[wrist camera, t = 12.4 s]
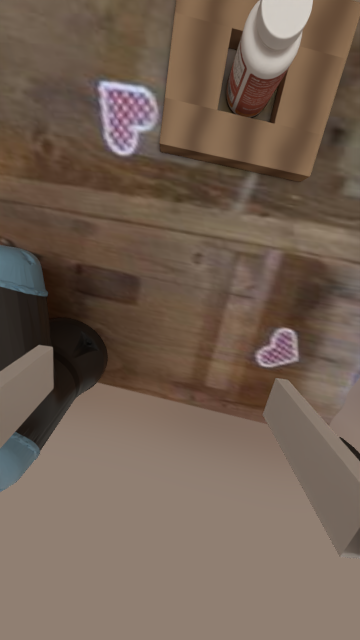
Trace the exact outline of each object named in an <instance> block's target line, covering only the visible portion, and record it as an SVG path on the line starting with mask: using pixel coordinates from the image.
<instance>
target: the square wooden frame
mask: <svg viewBox="0 0 360 640" xmlns="http://www.w3.org/2000/svg"><path fill="white" fill-rule="evenodd" d="M258 1H259V0H176V8H175V17H174V25H173V34H172V42H171V51H170V59H169V68H168V76H167V84H166V93H165V101H164V110H163V118H162V127H161V135H160V150H161V152H164V153H169V154H174V155H178V156H183V157H187V158H192V159H197V160H201V161H206V162H210V163H215V164H220V165H224V166H229V167H233V168H238V169H243V170H247V171H252V172H256V173H261V174H266V175H270V176H275V177H279V178H284V179H289V180H293V181H298V182H301V181H303V180H304V179H306V178H308V177H310V174H311V171H312V168H313V165H314V161H315V158H316V155H317V152H318V149H319V145H320V142H321V139H322V136H323V133H324V129H325V126H326V123H327V120H328V117H329V113H330V110H331V107H332V104H333V101H334V97H335V94H336V91H337V88H338V85H339V81H340V78H341V75H342V72H343V69H344V65H345V62H346V59H347V56H348V53H349V49H350V46H351V43H352V40H353V37H354V33H355V30H356V27H357V24H358V21H359V17H360V3H359V2H356V1H352V0H313V4H312V10H311V13H310V16H309V19H308V21H307V23H306V25H305V27H304V28H303V30H302V38H301V42H300V46H299V49H298V51H297V54H296V56H295V58H294V59H293V61H292V63H291V65H290V67H289V68H288V70H287V72H286V73H285V75H284V77H283V78H282V80H281V81H280V83H279V86H278V90H277V94H276V98H275V102H274V106H273V110H272V114H271V119H270V122H266V121H261V120H257V119H253V118H249V117H245V116H240V115H236V114H232V113H228V112H224V111H219V110H217V108H218V103H219V97H220V92H221V86H222V81H223V75H224V70H225V64H226V59H227V53H228V48H232V49H236V50H237V49H238V46H239V43H240V39H241V36H242V32H243V29H244V26H245V23H246V20H247V18H248V16H249V14H250V12H251V10H252V9H253V7H254V6H255V4H256V3H257V2H258Z"/></svg>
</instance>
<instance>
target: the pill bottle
mask: <svg viewBox="0 0 360 640" xmlns="http://www.w3.org/2000/svg"><path fill="white" fill-rule="evenodd" d="M312 4H313V0H259V1H258V2H257V3H256V4H255V6H254V7H253V9H252V10H251V12H250V14H249V16H248V18H247V20H246V23H245V26H244V29H243V32H242V36H241V39H240V43H239V46H238V49H237V52H236V56H235V59H234V62H233V66H232V69H231V72H230V76H229V79H228V83H227V89H226V96H227V101H228V104H229V107H230V109H231V110H232V111H233V112H234V113H235V114H236V115H240V116H245V117H249V118H251V117H254V116H256V115H257V114H259V113H260V112H261V111H262V110H263V109H264V107H265V106H266V104H267V103H268V101H269V100H270V98H271V96H272V95H273V93H274V91H275V90H276V88H277V86H278V85H279V83H280V81H281V80H282V78H283V77H284V75H285V73H286V72H287V70H288V68H289V67H290V65H291V63H292V61H293V59H294V58H295V56H296V54H297V51H298V49H299V46H300V42H301V38H302V30H303V28H304V27H305V25H306V23H307V21H308V19H309V16H310V13H311V10H312Z"/></svg>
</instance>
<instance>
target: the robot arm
mask: <svg viewBox="0 0 360 640" xmlns="http://www.w3.org/2000/svg"><path fill="white" fill-rule="evenodd" d="M46 296H48V291H46V290H45V284H44V279H43V273H42V267H41V264H40V262H39V260H38V259H37V258H36V256H34V255H33V254H32V253H30V252H29V251H27V250H24V249H20V248H15V247H10V246H4V245H0V492H1V491H3V490H5V489H6V488H8V487H9V486H11V485H13V484H14V483H16V482H17V480H19V479H20V477H21V476H22V475H23V474H24V473H25V471H26V470H27V469H28V468H29V466H30V465H31V464H32V463H33V461H34V460H36V459H37V457H38V456H39V454H40V450H41V449H42V447H43V446H44V444H45V443H46V441H47V440H48V438H49V437H50V435H51V434H52V432H53V431H54V430H55V428H56V427H57V425H58V423H59V422H60V421H61V419H62V417H63V416H64V415H65V413H66V411H67V410H68V409H69V407H70V406H71V404H72V402H73V401H74V400H75V398H76V397H78V396H79V395H80V394H81V393H83V392H84V391H87V390H88V389H90V388H91V387H93V386H94V385H95V384H96V383H97V382H98V380H99V379H100V378H101V376H102V374H103V373H104V371H105V368H106V365H107V351H106V347H105V345H104V343H103V341H102V339H101V338H100V336H99V335H98V334H97V333H96V332H95V331H94V330H93V329H92V328H90V327H89V326H87V325H86V324H84V323H82V322H79V321H77V320H73V319H69V318H55V319H50V320H49V316H48V307H47V298H46ZM263 416H264V418H265V420H266V422H267V423H268V425H269V427H270V429H271V430H272V433H273V434H274V436H275V438H276V440H277V442H278V444H279V445H280V447H281V449H282V451H283V453H284V455H285V456H286V458H287V460H288V462H289V464H290V466H291V468H292V470H293V471H294V473H295V475H296V477H297V479H298V481H299V482H300V484H301V486H302V488H303V490H304V492H305V493H306V495H307V497H308V499H309V501H310V503H311V505H312V506H313V508H314V510H315V512H316V514H317V516H318V517H319V519H320V521H321V523H322V525H323V527H324V528H325V530H326V532H327V534H328V536H329V538H330V540H331V541H332V543H333V545H334V547H335V549H336V550H337V552H338V554H339V556H340V557H347V558H360V453H359V452H358V451H357V450H356V449H355V448H354V447H352V446H351V445H350V444H349V443H348V442H346V441H345V440H344V439H343V438H341V437H338V436H337V435H336V434H335V433H334V432H333V430H332V429H331V428H330V427H329V426H328V425H327V424H326V422H325V421H324V420H323V419H322V418H321V417H320V416H319V415H318V413H317V412H316V411H315V410H314V409H313V408H312V407H311V406H310V404H309V403H308V402H307V401H306V400H305V399H304V398H303V396H302V395H301V394H300V393H299V392H298V391H297V390H296V389H295V387H294V386H293V385H292V384H291V383H290V382H289V381H288V380H285V379H278V378H276V379H275V382H274V385H273V388H272V390H271V393H270V396H269V399H268V401H267V404H266V407H265V410H264V413H263Z"/></svg>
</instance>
